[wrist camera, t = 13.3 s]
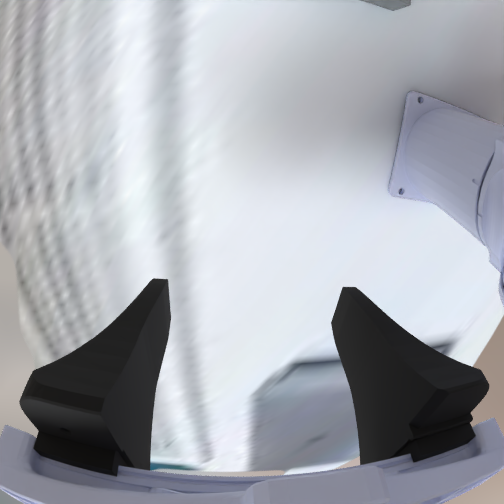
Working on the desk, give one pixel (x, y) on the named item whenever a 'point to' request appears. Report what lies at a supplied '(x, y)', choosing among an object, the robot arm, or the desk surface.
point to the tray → (390, 3)
